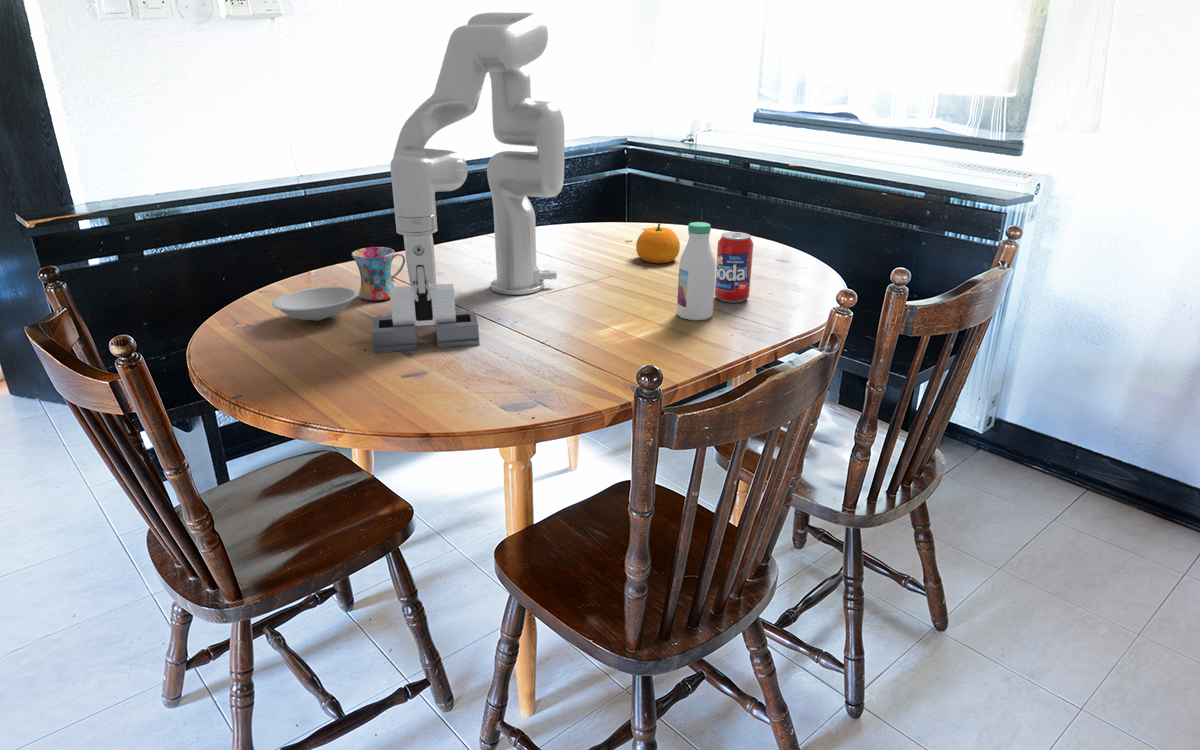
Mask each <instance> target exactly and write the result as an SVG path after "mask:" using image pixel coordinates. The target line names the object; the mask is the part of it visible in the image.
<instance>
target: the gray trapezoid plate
mask: <svg viewBox="0 0 1200 750" xmlns="http://www.w3.org/2000/svg"><path fill="white" fill-rule="evenodd" d="M417 290H419V289H417ZM425 290H427V288H425ZM429 292H430V300H432V313H433V319H432V320H426V321H417V320H416V313H415V302H414V301H415V300H416V299H415V288H414V287H413V286H411V285H407V286H394V287H390V298H389V300H390V308H391V309H390V311H391V316H392V320H393V327H404V326H416V327H419V326H421V327H422V326H436V324H447V323H456V313H455V312H456V301H455V289H454V283H446V284H445V283H443V284H440V283H439V284H436V285H435V286H433V284H431V285H430V284H429ZM418 300H419V299H418Z"/></svg>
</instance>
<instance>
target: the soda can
mask: <svg viewBox="0 0 1200 750" xmlns="http://www.w3.org/2000/svg"><path fill="white" fill-rule="evenodd" d="M720 235H721V237H720V238H719V240H718V241H717V250H716V251H717V253H716V263H715V286H714V298H717V299H718V300H719V301H721V302H723V301H724V302H723V303H727V302H728V303H729V304H738V302H739V303H742V302H744V301H746V300H747V299H748V298H749V296H750V290H751V278H752V266H753V253H754V241H753V240H752V239H751V238H752V235H751V234H750V233H748V232H747V233H746V232H741V231H740V232H739V231H728V232H723V233H721V234H720ZM728 303H727V304H728Z"/></svg>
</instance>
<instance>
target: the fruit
mask: <svg viewBox="0 0 1200 750" xmlns="http://www.w3.org/2000/svg"><path fill="white" fill-rule="evenodd" d="M680 243H681V242H680V240H679V237H678V235H677V234H676V233H675V232H674V231H673V230H672V229H670V228H667V227H664V226H663V227H662V226H661V223H658V224H657V226H654V227H653V226H652V227H649V228H646V229H645V230H643V231H642V232H641V233H640V234H639V236H638V238H637V240H636V244H635V250H636V254H637V256H638V257H639V258H640V259H641V260H643V261H645V262H647V263H651V264H667V263H669V262H672V261H674V260H675V259H676V258H677V257H678V256H679V253H680V250H681V249H680V247H681V245H680Z"/></svg>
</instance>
